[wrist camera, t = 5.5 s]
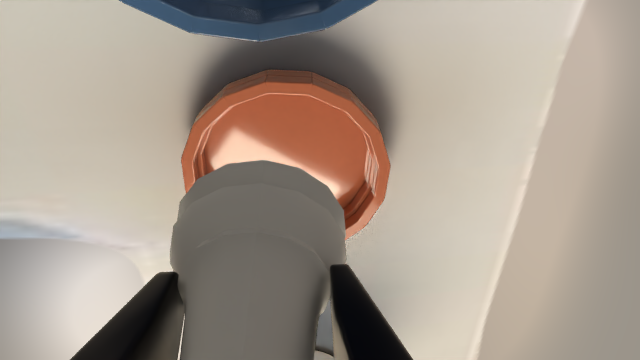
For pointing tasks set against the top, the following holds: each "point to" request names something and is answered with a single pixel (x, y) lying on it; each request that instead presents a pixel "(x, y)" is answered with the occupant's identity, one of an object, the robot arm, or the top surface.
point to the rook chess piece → (255, 261)
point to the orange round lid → (295, 137)
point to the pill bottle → (322, 356)
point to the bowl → (250, 16)
